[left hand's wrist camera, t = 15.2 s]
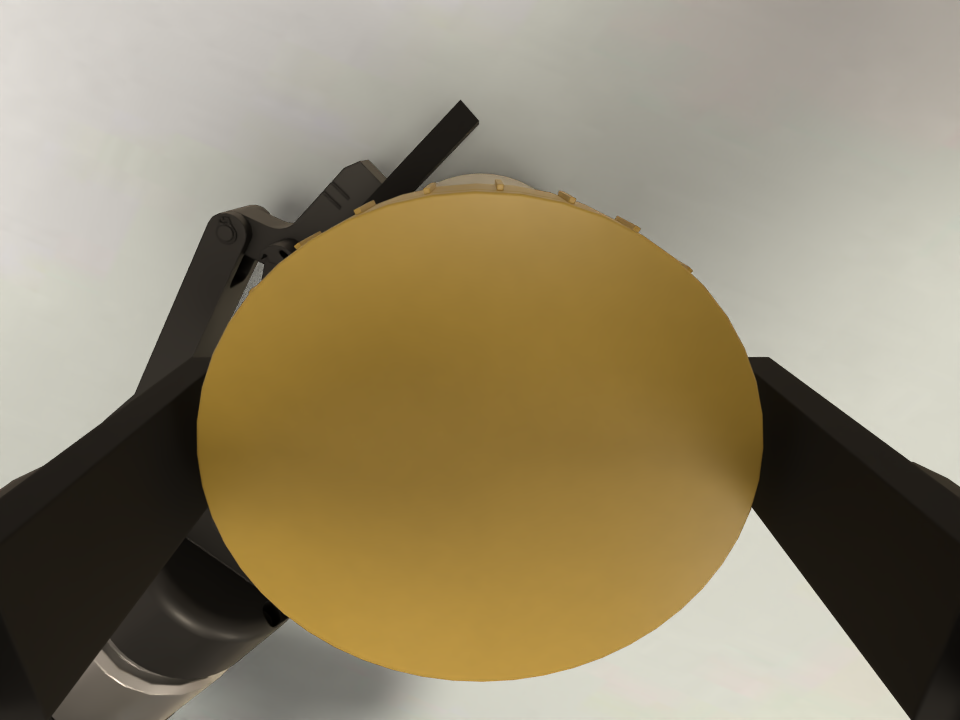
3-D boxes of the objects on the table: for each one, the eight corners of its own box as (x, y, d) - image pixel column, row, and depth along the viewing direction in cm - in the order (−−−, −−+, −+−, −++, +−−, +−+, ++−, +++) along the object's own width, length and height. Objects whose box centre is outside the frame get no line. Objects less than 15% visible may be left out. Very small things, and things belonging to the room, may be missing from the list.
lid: (341, 651, 14) (321, 722, 12) (145, 267, 11) (79, 292, 9) (747, 565, 13) (788, 629, 11) (688, 105, 10) (734, 97, 8)
